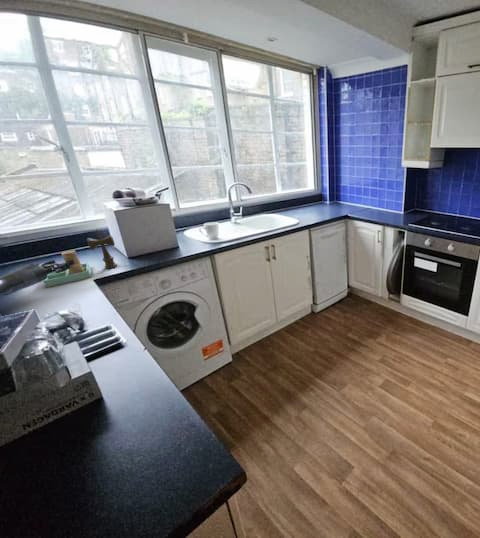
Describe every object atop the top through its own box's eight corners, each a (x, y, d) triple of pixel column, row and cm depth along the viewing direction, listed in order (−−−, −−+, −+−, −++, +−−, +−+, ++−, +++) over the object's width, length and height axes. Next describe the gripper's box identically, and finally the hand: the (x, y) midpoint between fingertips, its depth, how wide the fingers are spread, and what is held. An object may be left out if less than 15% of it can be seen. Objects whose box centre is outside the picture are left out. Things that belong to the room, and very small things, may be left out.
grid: (46, 287, 131) (42, 281, 130) (49, 277, 142) (46, 271, 141) (90, 277, 140) (88, 271, 139) (90, 268, 151) (88, 262, 150)
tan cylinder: (72, 278, 137) (60, 254, 132) (72, 275, 140) (61, 252, 136) (85, 275, 140) (74, 252, 135) (85, 272, 143) (75, 249, 138)
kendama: (100, 267, 151) (83, 230, 143) (123, 263, 156) (108, 226, 148) (99, 271, 146) (82, 232, 138) (123, 266, 151) (108, 229, 143)
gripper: (14, 285, 120) (52, 269, 135) (48, 284, 120) (82, 268, 135) (4, 268, 117) (44, 254, 132) (39, 267, 117) (75, 253, 132)
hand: (63, 261), depth 133 cm, fingers open, 8 cm apart
